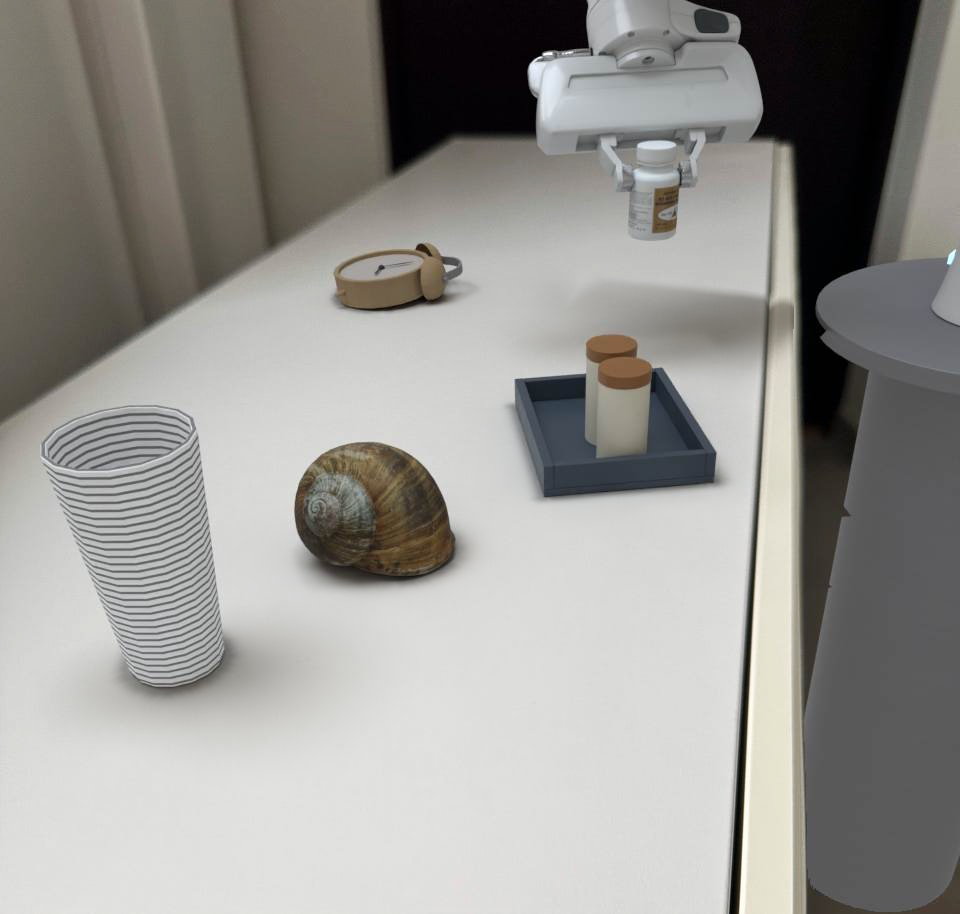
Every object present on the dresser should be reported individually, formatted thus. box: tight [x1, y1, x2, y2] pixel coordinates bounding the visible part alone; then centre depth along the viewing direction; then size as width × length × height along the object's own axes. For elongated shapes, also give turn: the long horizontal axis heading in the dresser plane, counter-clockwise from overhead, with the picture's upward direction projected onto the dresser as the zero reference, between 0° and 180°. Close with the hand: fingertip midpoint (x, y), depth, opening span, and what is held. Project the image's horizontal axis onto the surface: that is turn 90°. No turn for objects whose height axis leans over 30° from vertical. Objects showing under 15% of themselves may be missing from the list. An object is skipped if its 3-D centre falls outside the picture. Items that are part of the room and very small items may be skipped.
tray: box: [514, 366, 718, 497], centre depth 89 cm, size 14×18×3 cm
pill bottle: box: [627, 140, 680, 242], centre depth 95 cm, size 4×4×8 cm
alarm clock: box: [332, 242, 464, 309], centre depth 122 cm, size 11×5×15 cm
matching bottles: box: [585, 333, 653, 458], centre depth 85 cm, size 4×9×8 cm, turn 6°
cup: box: [39, 404, 226, 688], centre depth 63 cm, size 8×8×16 cm
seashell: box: [293, 441, 457, 577], centre depth 74 cm, size 11×9×8 cm
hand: (656, 186), depth 94 cm, fingers closed on pill bottle, 4 cm apart
